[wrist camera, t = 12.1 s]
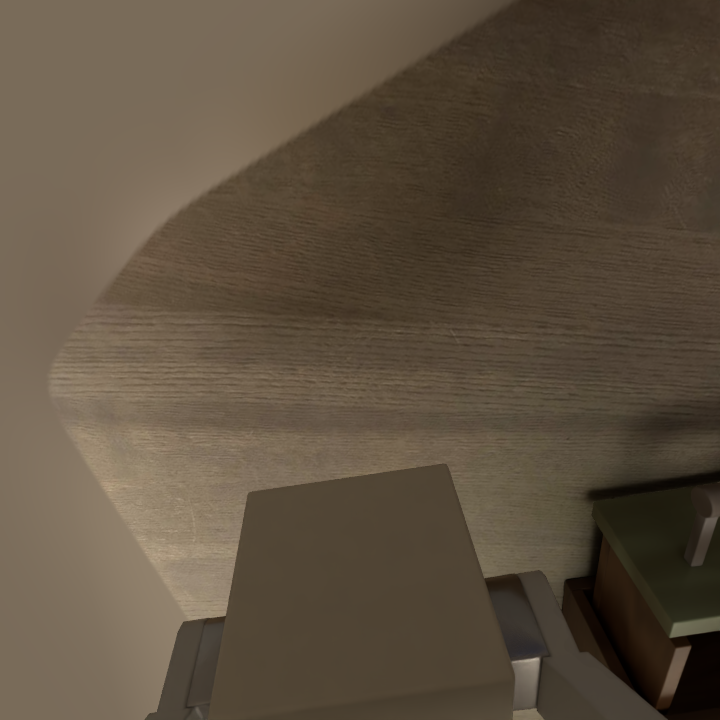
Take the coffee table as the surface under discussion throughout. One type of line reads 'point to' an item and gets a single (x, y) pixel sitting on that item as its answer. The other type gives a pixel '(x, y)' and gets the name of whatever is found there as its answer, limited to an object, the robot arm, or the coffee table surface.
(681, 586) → the drawer
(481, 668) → the block
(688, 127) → the coffee table surface
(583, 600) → the cabinet
